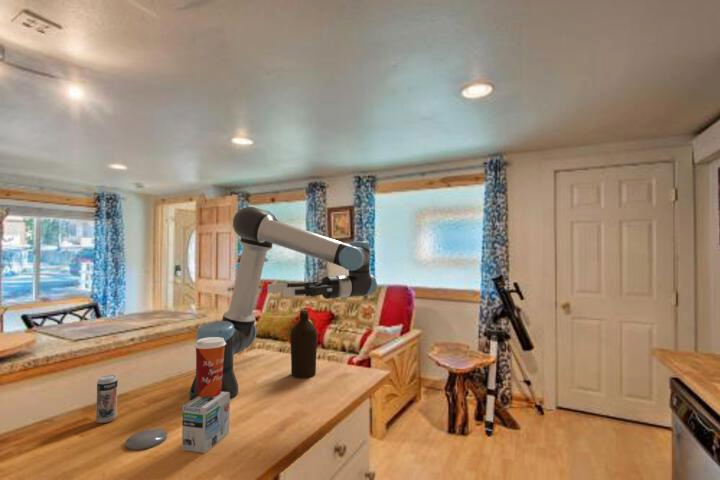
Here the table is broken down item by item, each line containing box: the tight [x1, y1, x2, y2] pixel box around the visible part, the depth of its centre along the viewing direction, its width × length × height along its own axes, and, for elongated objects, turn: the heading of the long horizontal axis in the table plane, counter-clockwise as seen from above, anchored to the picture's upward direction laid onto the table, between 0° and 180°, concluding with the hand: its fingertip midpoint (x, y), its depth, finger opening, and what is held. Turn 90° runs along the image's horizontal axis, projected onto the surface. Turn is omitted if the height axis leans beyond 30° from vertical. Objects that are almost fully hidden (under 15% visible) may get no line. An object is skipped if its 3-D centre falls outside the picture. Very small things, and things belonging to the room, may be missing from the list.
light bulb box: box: [181, 392, 231, 454], centre depth 92 cm, size 11×7×11 cm, turn 168°
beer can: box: [95, 374, 119, 424], centre depth 103 cm, size 5×5×12 cm
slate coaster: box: [125, 428, 168, 451], centre depth 92 cm, size 9×9×1 cm
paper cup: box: [194, 337, 226, 398], centre depth 95 cm, size 8×8×14 cm
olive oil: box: [289, 309, 318, 379], centre depth 143 cm, size 11×11×25 cm
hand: (275, 290), depth 112 cm, fingers open, 13 cm apart
